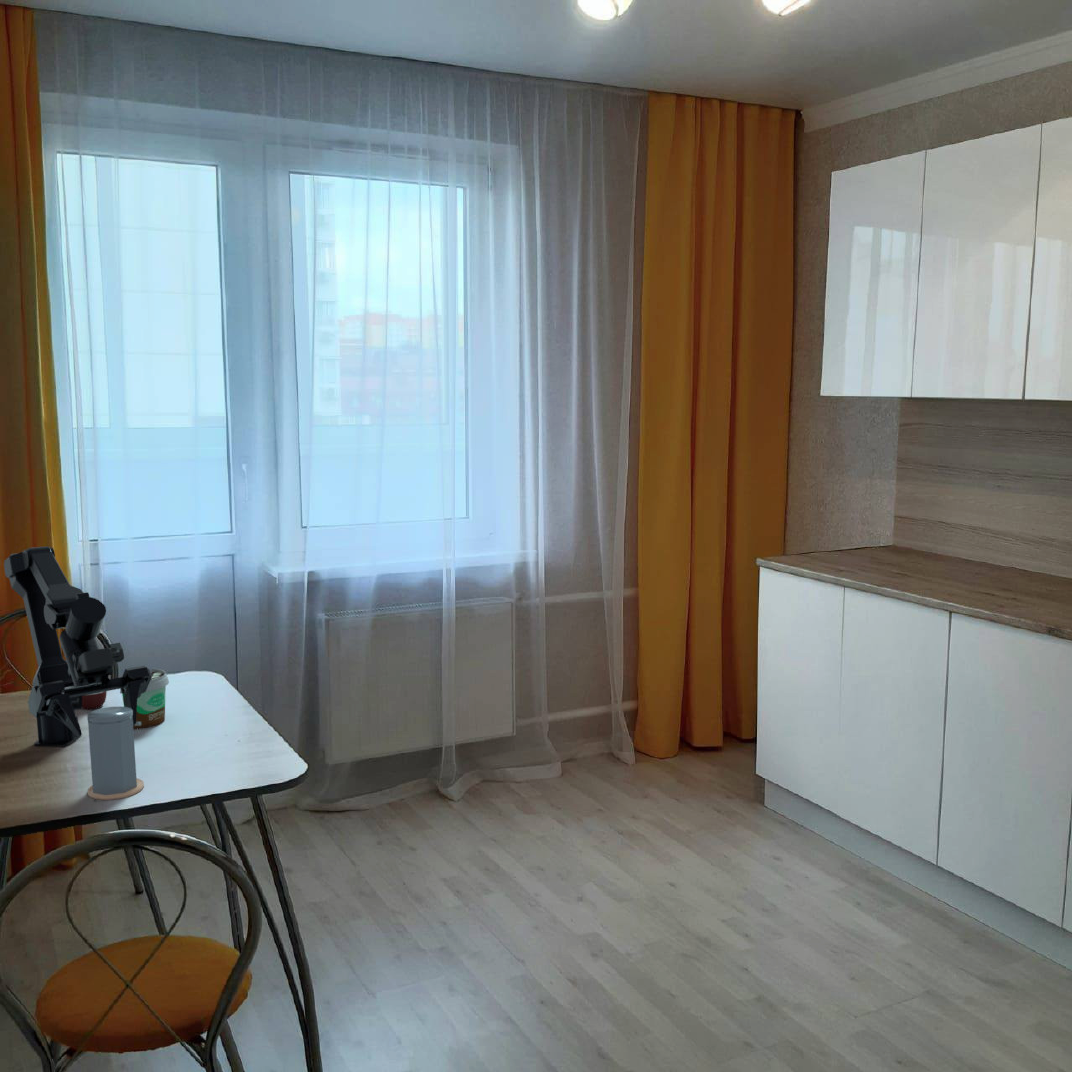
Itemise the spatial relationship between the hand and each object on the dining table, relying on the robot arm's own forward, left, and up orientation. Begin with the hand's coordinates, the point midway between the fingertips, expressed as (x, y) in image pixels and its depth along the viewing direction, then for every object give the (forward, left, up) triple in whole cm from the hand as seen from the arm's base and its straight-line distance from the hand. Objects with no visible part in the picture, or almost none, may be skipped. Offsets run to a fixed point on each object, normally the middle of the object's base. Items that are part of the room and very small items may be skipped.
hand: (107, 730), depth 184 cm
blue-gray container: (+1, -1, -10) cm, 10 cm away
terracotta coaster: (+2, -2, -10) cm, 10 cm away
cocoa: (-25, +44, -10) cm, 52 cm away
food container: (-7, +34, -10) cm, 37 cm away
